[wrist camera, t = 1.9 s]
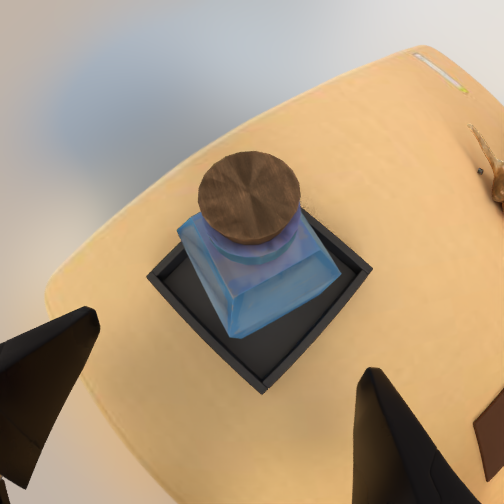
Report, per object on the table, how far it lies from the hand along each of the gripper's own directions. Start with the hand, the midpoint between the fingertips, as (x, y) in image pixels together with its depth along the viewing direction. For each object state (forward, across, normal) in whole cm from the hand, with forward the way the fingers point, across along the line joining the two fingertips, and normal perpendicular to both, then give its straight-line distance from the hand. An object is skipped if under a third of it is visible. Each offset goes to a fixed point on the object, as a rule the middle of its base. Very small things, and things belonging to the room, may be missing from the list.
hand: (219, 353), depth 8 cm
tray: (+12, 0, +5) cm, 13 cm away
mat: (+4, -28, +13) cm, 31 cm away
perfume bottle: (+11, 0, +4) cm, 12 cm away
